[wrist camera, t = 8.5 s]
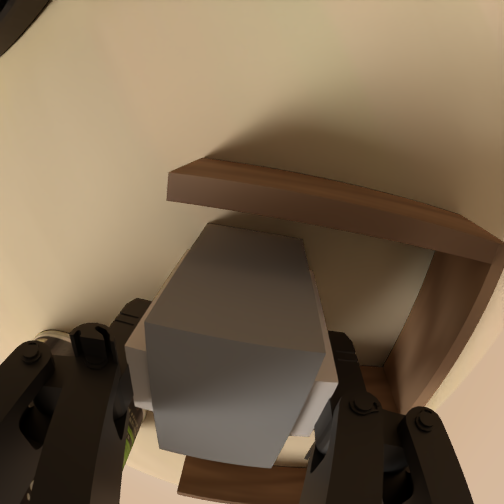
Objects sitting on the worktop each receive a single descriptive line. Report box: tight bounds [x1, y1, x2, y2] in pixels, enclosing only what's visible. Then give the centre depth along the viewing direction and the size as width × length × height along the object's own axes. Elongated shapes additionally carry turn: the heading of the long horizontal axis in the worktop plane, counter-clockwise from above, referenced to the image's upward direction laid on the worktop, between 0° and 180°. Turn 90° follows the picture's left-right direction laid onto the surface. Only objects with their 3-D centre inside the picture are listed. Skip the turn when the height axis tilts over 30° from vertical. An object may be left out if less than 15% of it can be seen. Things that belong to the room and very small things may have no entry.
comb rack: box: [166, 158, 504, 504], centre depth 14 cm, size 23×12×4 cm, turn 171°
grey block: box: [144, 223, 326, 468], centre depth 11 cm, size 6×4×7 cm, turn 171°
